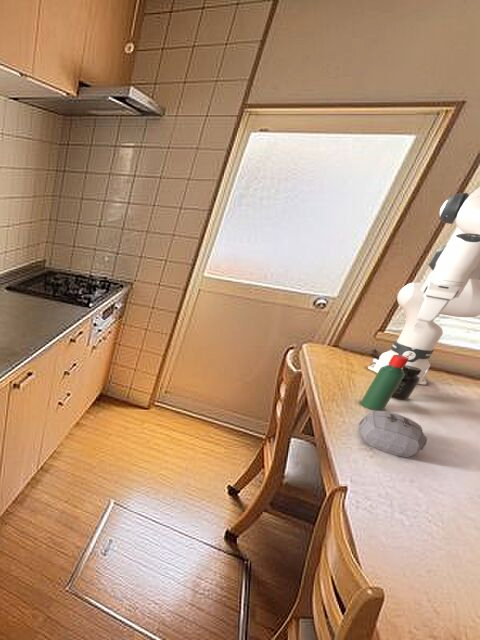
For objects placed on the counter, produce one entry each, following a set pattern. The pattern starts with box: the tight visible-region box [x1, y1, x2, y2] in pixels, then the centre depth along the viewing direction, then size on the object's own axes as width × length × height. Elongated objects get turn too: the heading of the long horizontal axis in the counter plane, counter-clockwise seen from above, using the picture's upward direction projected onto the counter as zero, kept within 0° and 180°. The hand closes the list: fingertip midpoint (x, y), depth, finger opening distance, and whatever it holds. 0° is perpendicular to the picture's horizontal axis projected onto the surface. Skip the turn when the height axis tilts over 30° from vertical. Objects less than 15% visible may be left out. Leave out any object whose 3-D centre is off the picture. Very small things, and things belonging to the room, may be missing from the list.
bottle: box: [360, 365, 405, 411], centre depth 147 cm, size 6×6×19 cm
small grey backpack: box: [358, 410, 428, 458], centre depth 128 cm, size 15×8×20 cm
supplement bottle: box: [391, 365, 421, 401], centre depth 158 cm, size 7×7×12 cm
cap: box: [389, 355, 409, 368], centre depth 143 cm, size 4×4×3 cm
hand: (417, 330), depth 138 cm, fingers open, 6 cm apart
